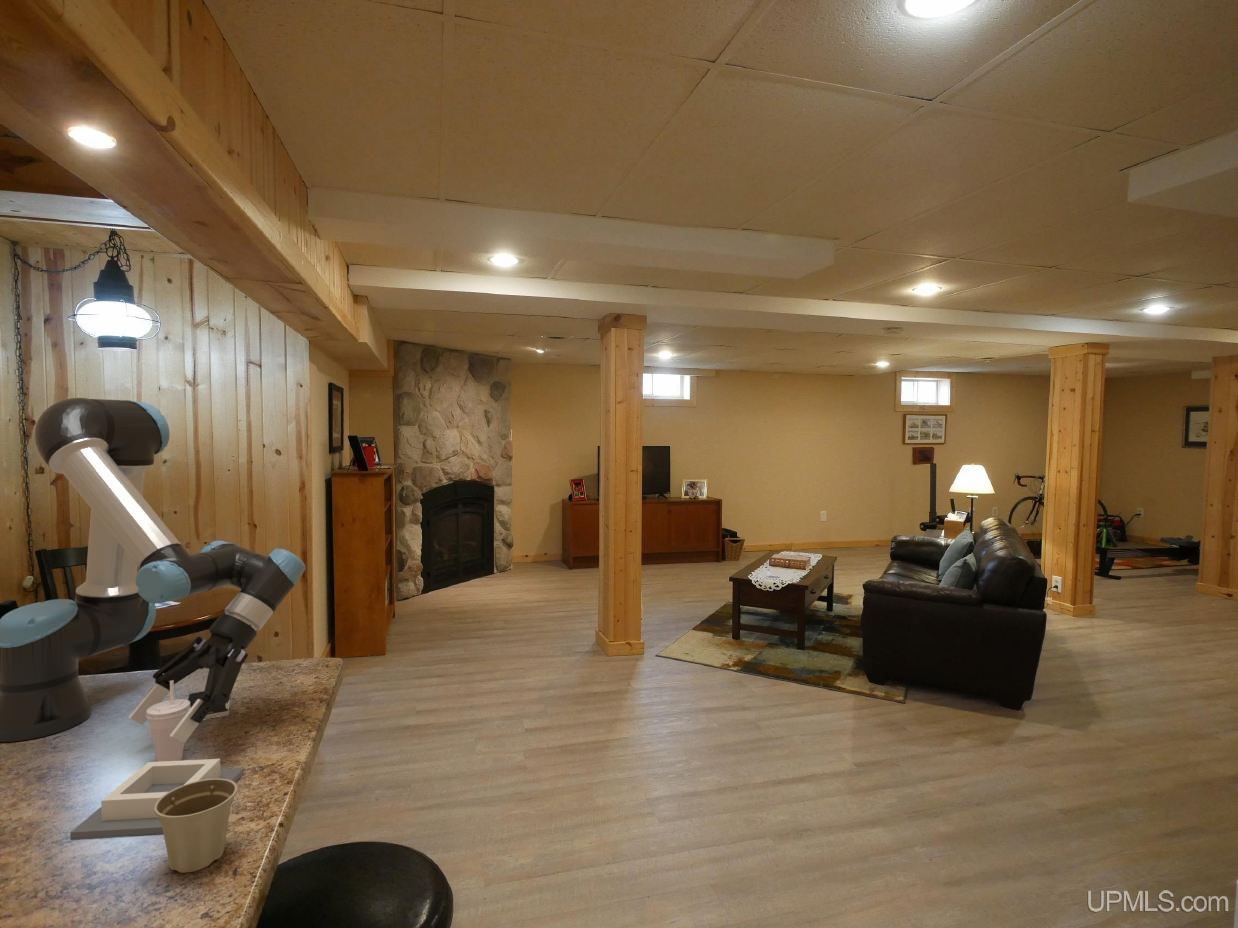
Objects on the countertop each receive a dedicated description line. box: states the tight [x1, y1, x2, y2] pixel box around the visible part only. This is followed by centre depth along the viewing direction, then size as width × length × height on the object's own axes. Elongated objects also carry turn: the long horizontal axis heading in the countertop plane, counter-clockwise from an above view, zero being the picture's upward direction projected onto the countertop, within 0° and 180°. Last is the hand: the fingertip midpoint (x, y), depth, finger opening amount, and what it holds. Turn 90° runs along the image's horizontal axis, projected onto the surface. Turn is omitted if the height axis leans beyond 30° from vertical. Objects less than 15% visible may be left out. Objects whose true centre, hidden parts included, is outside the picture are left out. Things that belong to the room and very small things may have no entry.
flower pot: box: [154, 778, 238, 874], centre depth 86 cm, size 9×9×9 cm
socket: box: [69, 758, 245, 840], centre depth 98 cm, size 16×16×4 cm
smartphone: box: [187, 690, 231, 719], centre depth 134 cm, size 8×1×15 cm
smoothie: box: [146, 680, 191, 762], centre depth 111 cm, size 6×6×14 cm
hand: (155, 730), depth 109 cm, fingers open, 13 cm apart
